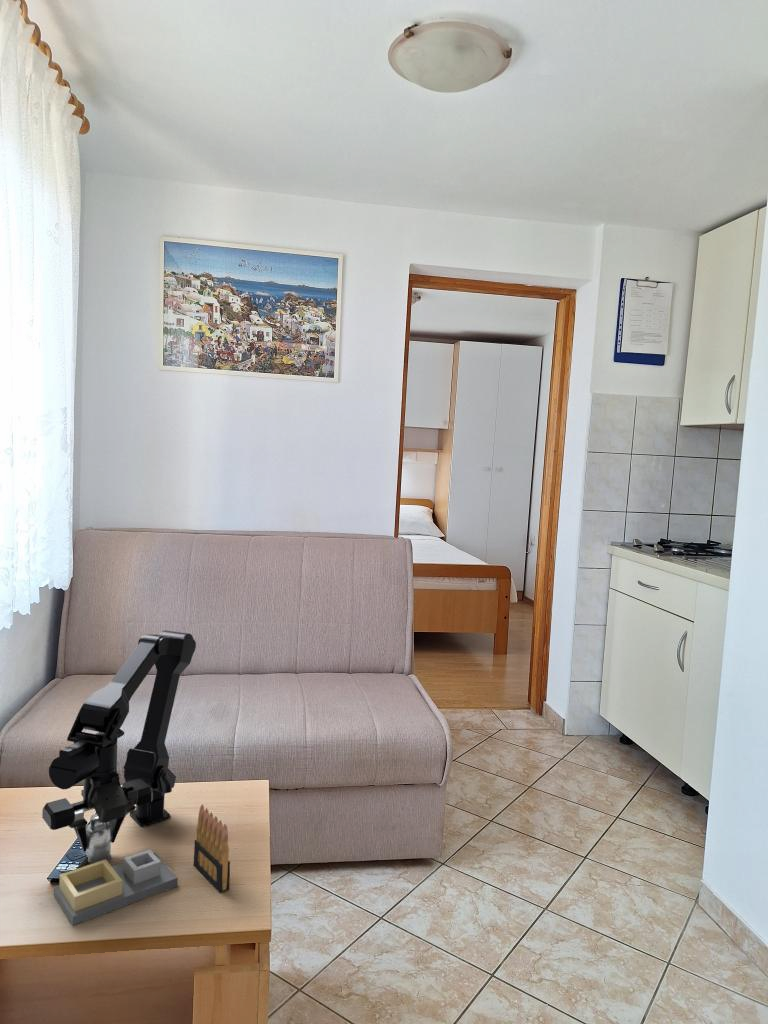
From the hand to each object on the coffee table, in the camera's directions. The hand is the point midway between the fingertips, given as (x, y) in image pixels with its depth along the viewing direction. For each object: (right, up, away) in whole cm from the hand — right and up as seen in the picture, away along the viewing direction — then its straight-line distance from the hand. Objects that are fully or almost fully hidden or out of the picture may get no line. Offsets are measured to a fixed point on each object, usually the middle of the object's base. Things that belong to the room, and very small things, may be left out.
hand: (98, 846), depth 133 cm
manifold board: (+7, -3, -9) cm, 12 cm away
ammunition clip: (+22, -4, -4) cm, 23 cm away
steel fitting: (0, -2, 0) cm, 2 cm away
